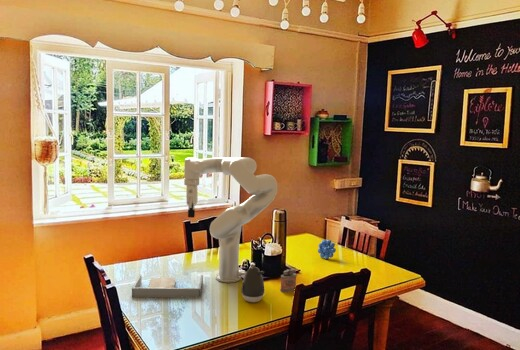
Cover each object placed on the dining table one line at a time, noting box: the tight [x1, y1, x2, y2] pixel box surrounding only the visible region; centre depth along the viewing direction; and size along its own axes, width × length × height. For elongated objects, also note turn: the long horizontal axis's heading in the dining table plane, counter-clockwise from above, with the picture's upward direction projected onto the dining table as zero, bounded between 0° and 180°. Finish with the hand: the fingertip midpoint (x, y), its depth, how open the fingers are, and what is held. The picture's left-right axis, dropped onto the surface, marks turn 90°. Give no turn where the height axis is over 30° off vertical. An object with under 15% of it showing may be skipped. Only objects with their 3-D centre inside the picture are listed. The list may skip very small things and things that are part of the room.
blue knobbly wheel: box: [317, 238, 337, 260], centre depth 249 cm, size 12×7×12 cm, turn 48°
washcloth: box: [147, 276, 176, 288], centre depth 201 cm, size 12×18×3 cm, turn 9°
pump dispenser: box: [240, 266, 266, 303], centre depth 191 cm, size 10×10×15 cm
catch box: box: [131, 274, 204, 299], centre depth 199 cm, size 30×16×4 cm, turn 93°
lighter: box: [279, 268, 298, 293], centre depth 203 cm, size 8×3×10 cm, turn 117°
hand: (191, 217), depth 225 cm, fingers closed
